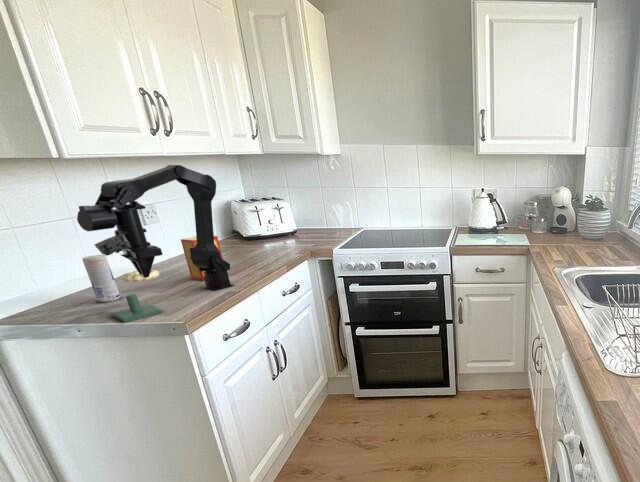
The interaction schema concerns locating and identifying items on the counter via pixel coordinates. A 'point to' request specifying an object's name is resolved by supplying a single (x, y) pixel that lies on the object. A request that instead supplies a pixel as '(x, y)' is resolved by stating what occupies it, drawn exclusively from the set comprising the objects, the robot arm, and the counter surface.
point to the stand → (135, 310)
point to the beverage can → (101, 278)
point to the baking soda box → (188, 244)
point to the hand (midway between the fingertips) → (145, 276)
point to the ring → (138, 276)
